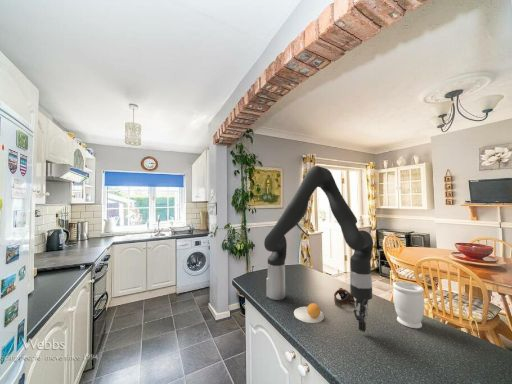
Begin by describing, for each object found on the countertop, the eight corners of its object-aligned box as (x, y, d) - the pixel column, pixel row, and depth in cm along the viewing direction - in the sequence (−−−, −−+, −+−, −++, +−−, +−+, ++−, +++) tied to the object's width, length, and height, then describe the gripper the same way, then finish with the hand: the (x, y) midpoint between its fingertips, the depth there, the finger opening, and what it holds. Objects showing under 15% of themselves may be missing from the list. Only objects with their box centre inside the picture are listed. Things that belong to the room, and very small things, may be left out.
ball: (316, 321, 85) (304, 315, 89) (321, 318, 89) (309, 313, 93) (318, 307, 86) (306, 302, 90) (323, 305, 90) (311, 300, 94)
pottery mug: (361, 311, 95) (354, 297, 94) (342, 318, 96) (335, 304, 95) (350, 293, 107) (344, 280, 105) (333, 300, 108) (327, 287, 107)
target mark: (290, 318, 88) (290, 318, 88) (297, 304, 100) (297, 304, 100) (321, 326, 83) (321, 325, 83) (325, 310, 94) (325, 310, 94)
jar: (416, 333, 78) (415, 293, 78) (388, 319, 87) (387, 283, 88) (430, 325, 82) (428, 287, 83) (402, 313, 92) (401, 279, 92)
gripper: (354, 276, 86) (355, 318, 85) (345, 286, 76) (346, 334, 75) (375, 280, 81) (376, 325, 80) (368, 292, 71) (370, 343, 70)
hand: (362, 330), depth 78 cm, fingers closed
